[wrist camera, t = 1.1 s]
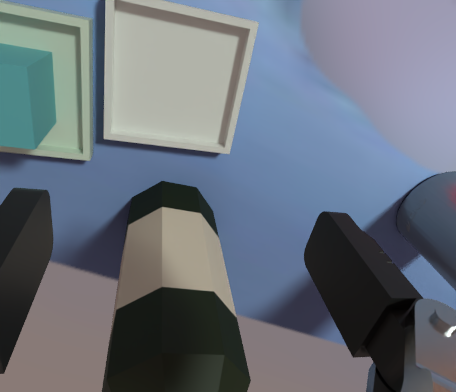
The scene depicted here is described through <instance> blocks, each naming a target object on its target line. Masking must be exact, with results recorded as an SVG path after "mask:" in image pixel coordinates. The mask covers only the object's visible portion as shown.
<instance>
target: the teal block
mask: <svg viewBox="0 0 456 392" xmlns="http://www.w3.org/2000/svg"><path fill="white" fill-rule="evenodd" d="M55 124H56V106H55V90H54V74H53V58H52V52H49V51H43V50H37V49H31V48H26V47H20V46H14V45H9V44H3V43H0V146H5V147H15V148H24V149H33V150H35V149H36V148H37V147H38V145H39V144H40V143H41V142H42V140H43V139H44V138H45V136H46V135H47V134H48V133H49V131H50V130H51V129H52V127H53V126H54V125H55Z"/></svg>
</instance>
